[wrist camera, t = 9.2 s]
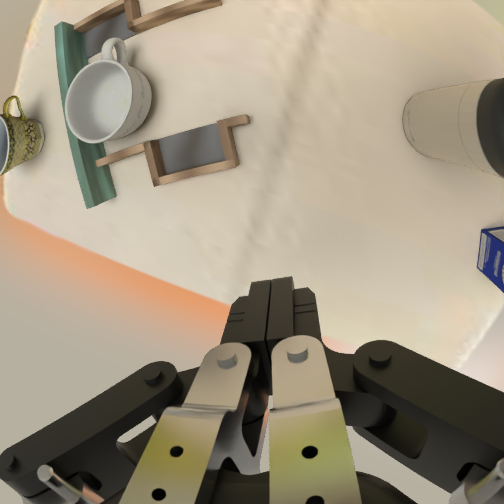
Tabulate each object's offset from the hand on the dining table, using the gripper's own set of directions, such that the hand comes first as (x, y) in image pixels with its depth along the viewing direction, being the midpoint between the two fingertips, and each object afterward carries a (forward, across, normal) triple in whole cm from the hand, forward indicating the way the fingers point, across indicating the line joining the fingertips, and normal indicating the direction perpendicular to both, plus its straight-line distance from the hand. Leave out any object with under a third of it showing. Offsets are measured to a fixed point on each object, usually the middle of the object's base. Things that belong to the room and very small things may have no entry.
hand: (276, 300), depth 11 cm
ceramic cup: (+29, +38, -19) cm, 52 cm away
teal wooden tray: (+29, +14, -18) cm, 37 cm away
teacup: (+29, +18, -17) cm, 38 cm away
